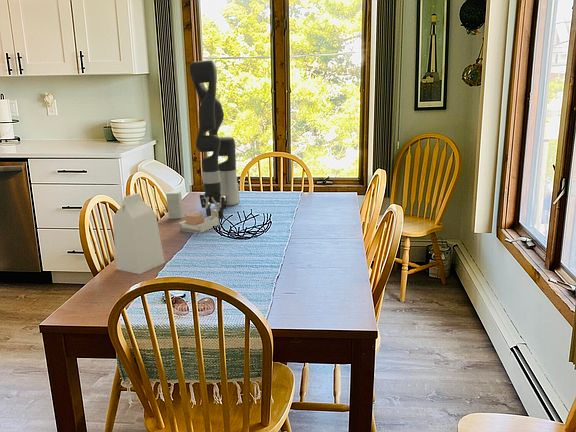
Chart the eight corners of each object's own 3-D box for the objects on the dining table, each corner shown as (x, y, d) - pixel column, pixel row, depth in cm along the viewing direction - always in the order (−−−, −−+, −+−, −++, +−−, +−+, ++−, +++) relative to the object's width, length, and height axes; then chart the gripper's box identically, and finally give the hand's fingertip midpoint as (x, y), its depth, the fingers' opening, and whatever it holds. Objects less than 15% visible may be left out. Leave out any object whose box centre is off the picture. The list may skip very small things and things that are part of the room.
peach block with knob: (211, 218, 254) (210, 205, 252) (222, 219, 251) (221, 206, 249) (186, 228, 240) (184, 215, 238) (197, 230, 237) (195, 216, 235)
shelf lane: (200, 222, 251) (199, 215, 250) (219, 225, 245) (218, 217, 244) (180, 230, 240) (179, 222, 239) (199, 233, 235) (199, 225, 234)
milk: (139, 274, 193) (130, 200, 186) (116, 269, 199) (106, 197, 192) (164, 262, 202) (156, 192, 195) (141, 258, 208) (133, 190, 201)
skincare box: (183, 216, 263) (181, 191, 260) (181, 218, 259) (178, 193, 256) (171, 216, 264) (168, 191, 261) (168, 218, 260) (165, 193, 257)
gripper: (229, 180, 246) (232, 217, 250) (204, 178, 253) (207, 214, 258) (219, 183, 239) (222, 221, 244) (193, 181, 247) (197, 218, 251)
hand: (214, 217), depth 251 cm, fingers open, 6 cm apart
